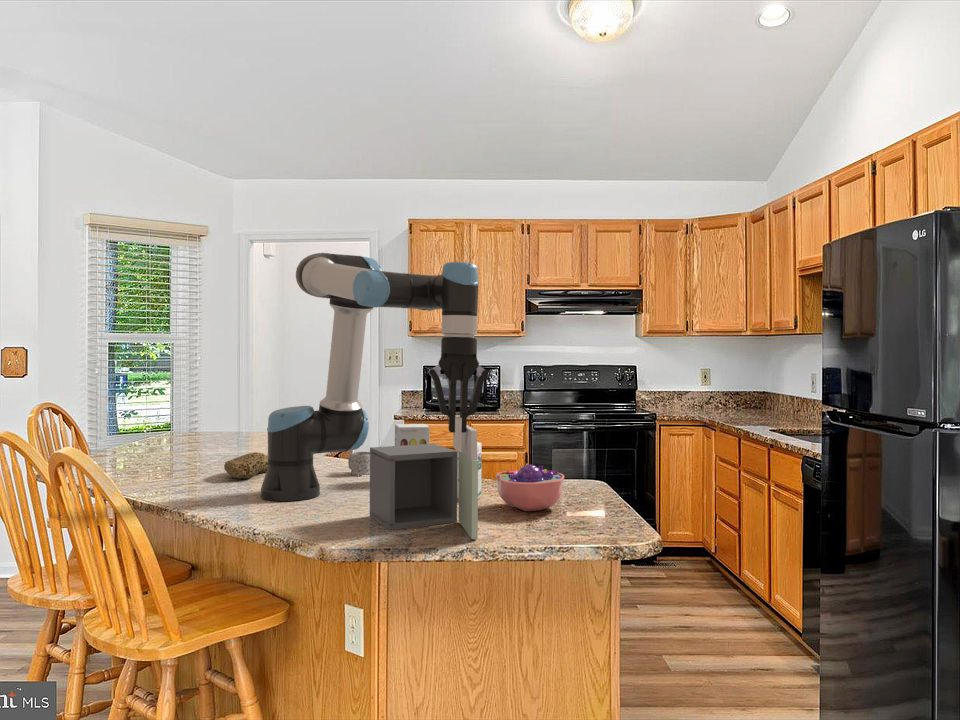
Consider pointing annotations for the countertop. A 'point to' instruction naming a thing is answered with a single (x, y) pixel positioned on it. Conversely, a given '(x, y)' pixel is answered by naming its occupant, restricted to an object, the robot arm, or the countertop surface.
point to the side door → (468, 482)
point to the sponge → (247, 465)
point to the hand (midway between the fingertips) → (457, 447)
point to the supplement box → (411, 434)
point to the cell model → (530, 487)
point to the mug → (359, 463)
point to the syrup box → (479, 458)
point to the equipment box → (413, 485)
